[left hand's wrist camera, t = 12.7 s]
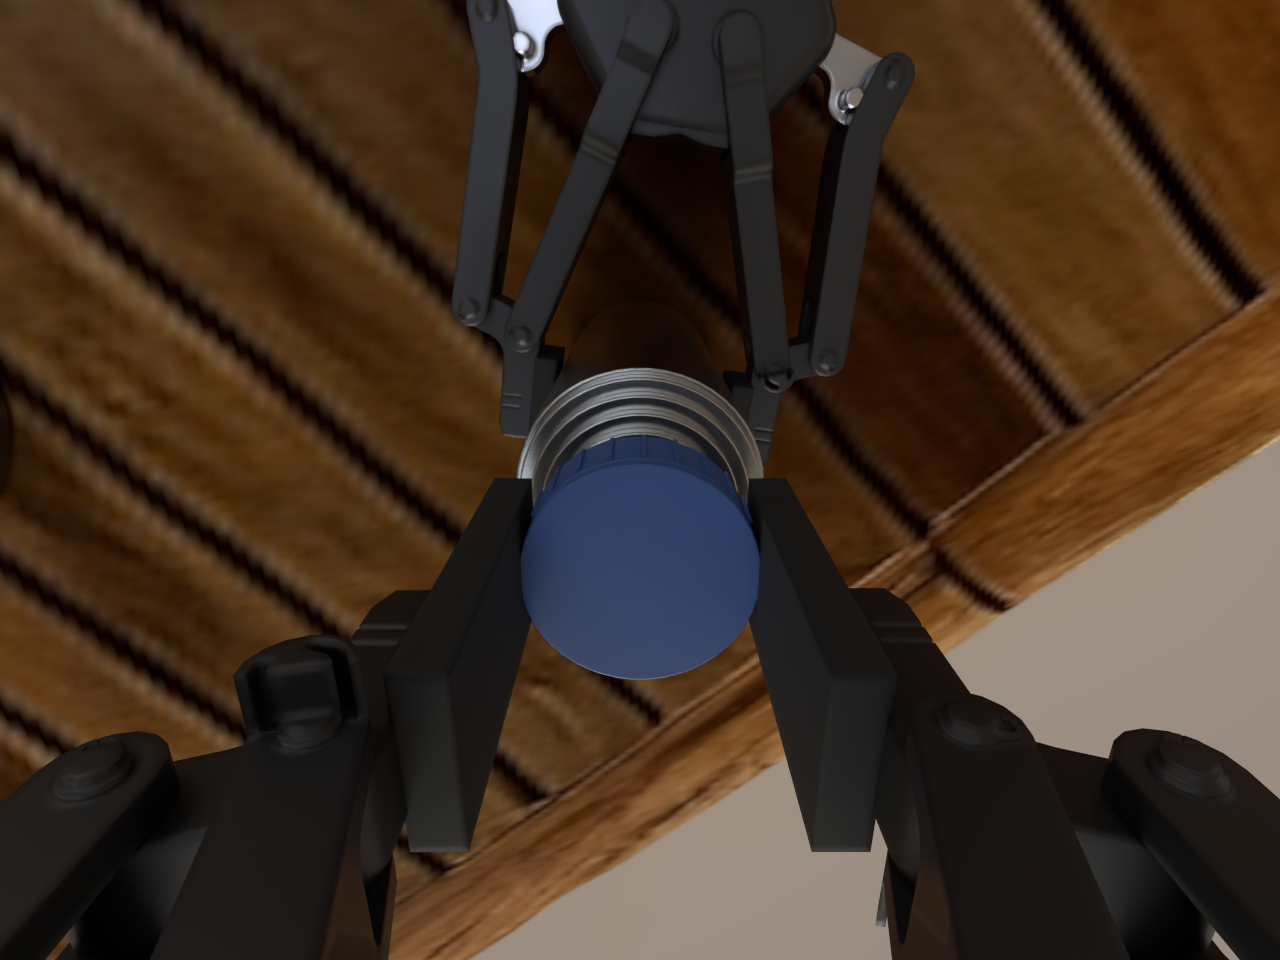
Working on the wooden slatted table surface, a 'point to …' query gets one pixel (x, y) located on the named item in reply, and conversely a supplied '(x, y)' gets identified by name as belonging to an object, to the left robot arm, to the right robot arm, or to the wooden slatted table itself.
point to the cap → (640, 559)
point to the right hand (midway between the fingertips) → (621, 526)
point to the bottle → (640, 396)
